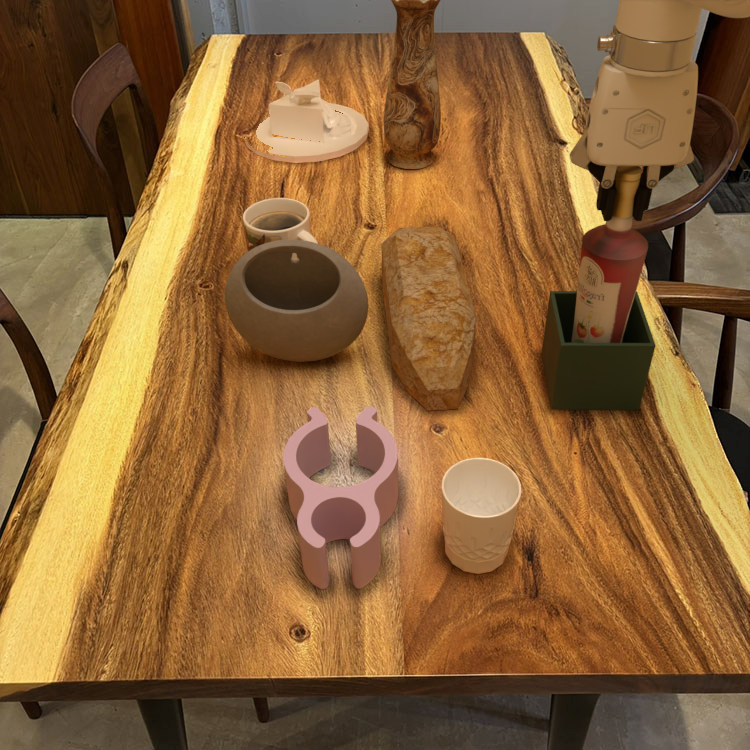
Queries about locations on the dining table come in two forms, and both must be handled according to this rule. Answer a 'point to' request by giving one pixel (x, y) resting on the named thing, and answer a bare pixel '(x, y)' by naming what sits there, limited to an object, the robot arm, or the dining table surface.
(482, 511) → the white cup
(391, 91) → the vase
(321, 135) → the dish
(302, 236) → the mug
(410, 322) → the bread
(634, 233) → the liquor
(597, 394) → the green square box
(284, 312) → the planter
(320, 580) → the clip
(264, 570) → the dining table surface
